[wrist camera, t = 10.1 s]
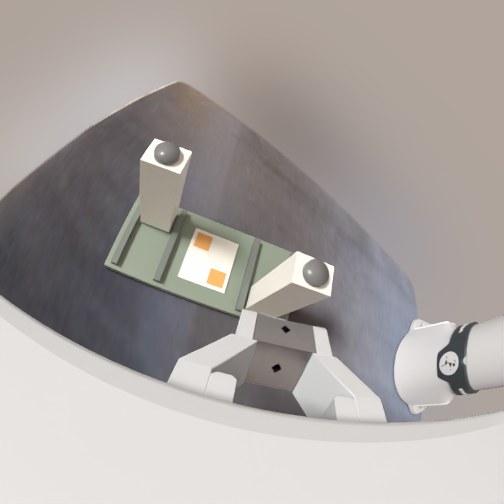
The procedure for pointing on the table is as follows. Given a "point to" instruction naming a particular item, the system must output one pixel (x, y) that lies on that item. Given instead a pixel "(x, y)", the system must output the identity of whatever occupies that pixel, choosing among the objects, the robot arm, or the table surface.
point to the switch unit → (194, 259)
